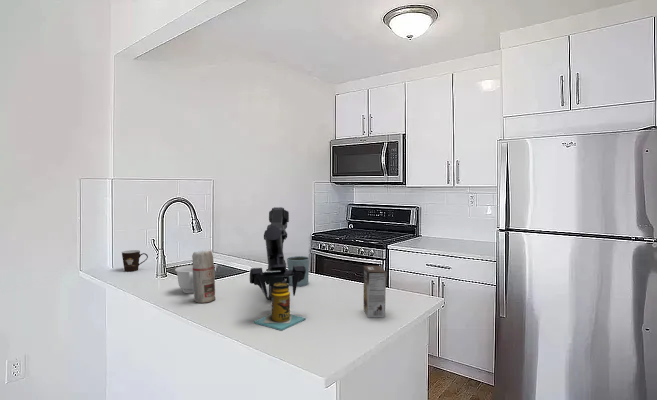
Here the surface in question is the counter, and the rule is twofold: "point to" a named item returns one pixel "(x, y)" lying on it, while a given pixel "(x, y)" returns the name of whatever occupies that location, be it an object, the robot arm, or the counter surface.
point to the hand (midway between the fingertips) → (280, 296)
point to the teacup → (185, 278)
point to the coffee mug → (132, 260)
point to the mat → (280, 325)
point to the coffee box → (374, 291)
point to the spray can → (203, 276)
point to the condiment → (280, 304)
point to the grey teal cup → (296, 262)
